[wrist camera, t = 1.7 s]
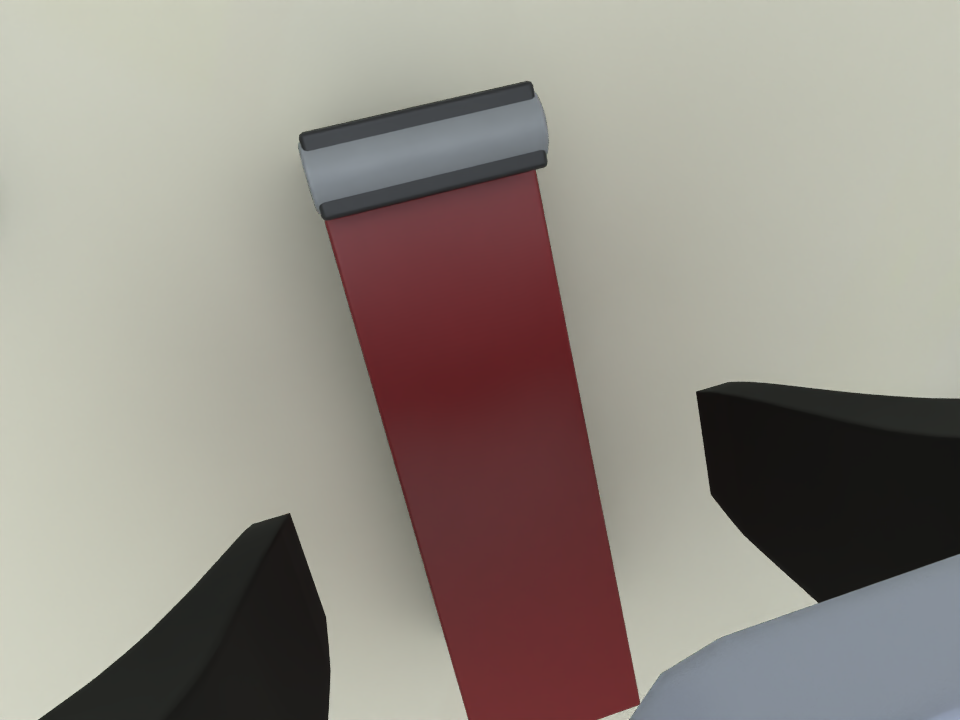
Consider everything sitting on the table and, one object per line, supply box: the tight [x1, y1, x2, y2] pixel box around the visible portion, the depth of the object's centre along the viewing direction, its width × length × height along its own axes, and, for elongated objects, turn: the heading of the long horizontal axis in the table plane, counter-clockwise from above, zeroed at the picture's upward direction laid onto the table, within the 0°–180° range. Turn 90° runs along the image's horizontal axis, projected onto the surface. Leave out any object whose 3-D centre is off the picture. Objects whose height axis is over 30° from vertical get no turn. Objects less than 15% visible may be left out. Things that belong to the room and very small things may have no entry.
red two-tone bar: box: [298, 81, 640, 720], centre depth 15 cm, size 13×4×6 cm, turn 13°
